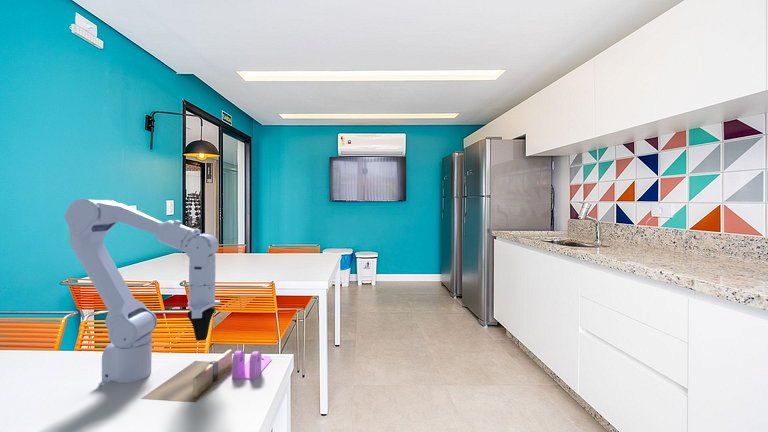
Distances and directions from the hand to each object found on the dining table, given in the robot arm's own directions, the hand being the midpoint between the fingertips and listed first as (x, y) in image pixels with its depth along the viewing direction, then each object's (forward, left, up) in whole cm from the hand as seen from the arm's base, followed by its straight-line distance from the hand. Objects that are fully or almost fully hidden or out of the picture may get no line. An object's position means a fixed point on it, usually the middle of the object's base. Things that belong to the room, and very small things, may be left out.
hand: (201, 339), depth 88 cm
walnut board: (0, -3, -9) cm, 10 cm away
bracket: (+11, +5, -10) cm, 16 cm away
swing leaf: (+5, -8, -8) cm, 12 cm away
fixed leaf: (+5, +1, -8) cm, 10 cm away
